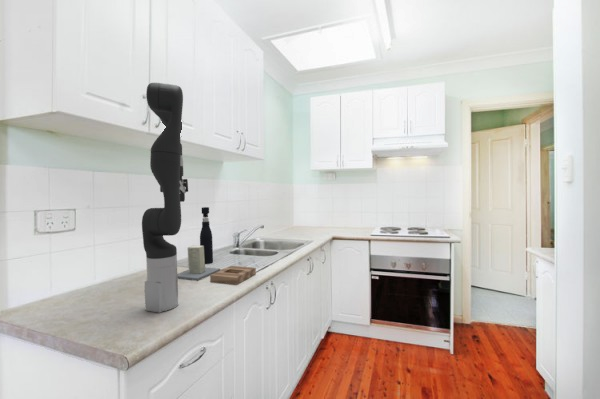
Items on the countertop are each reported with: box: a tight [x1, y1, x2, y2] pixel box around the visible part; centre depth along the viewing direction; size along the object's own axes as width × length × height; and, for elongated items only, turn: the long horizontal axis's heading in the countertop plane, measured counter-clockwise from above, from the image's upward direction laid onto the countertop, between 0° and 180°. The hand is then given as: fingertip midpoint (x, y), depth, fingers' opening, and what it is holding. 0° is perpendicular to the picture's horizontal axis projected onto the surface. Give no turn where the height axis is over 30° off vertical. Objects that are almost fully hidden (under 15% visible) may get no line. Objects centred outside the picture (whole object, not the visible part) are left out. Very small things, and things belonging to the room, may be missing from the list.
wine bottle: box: [199, 206, 214, 265], centre depth 158 cm, size 6×6×30 cm
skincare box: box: [187, 245, 206, 273], centre depth 136 cm, size 6×4×12 cm
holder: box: [209, 265, 257, 286], centre depth 129 cm, size 16×13×3 cm
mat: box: [177, 267, 221, 281], centre depth 136 cm, size 16×14×1 cm
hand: (175, 201), depth 130 cm, fingers open, 8 cm apart
